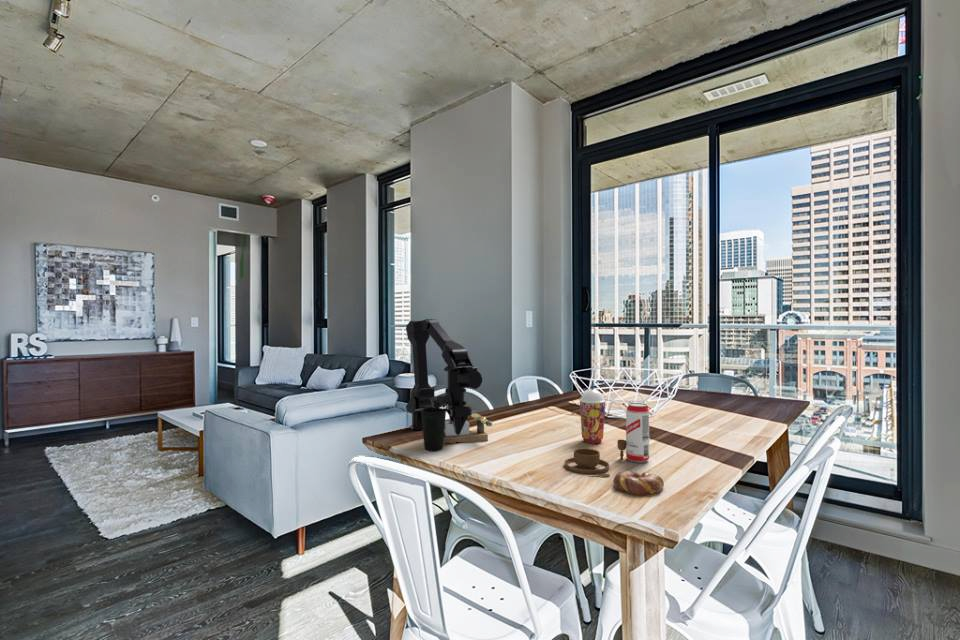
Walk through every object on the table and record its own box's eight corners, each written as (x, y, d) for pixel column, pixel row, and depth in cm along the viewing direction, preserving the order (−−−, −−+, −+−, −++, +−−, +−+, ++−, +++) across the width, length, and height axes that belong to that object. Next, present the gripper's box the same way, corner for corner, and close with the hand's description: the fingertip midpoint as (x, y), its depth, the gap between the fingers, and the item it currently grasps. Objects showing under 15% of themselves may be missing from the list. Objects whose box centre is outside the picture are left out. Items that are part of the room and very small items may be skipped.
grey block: (442, 433, 159) (442, 421, 159) (466, 432, 161) (466, 420, 161) (445, 436, 155) (445, 424, 155) (469, 435, 157) (469, 423, 157)
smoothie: (577, 438, 161) (577, 379, 161) (602, 438, 161) (602, 379, 161) (581, 444, 153) (582, 382, 153) (608, 445, 152) (608, 382, 152)
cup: (447, 445, 151) (447, 408, 151) (443, 452, 144) (443, 412, 143) (424, 445, 152) (424, 407, 152) (418, 451, 144) (418, 412, 144)
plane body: (433, 439, 160) (433, 420, 160) (481, 435, 164) (482, 418, 164) (437, 444, 153) (437, 425, 153) (487, 440, 157) (487, 422, 157)
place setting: (557, 460, 138) (557, 440, 138) (623, 458, 140) (623, 438, 140) (574, 480, 121) (574, 457, 121) (650, 478, 122) (650, 455, 122)
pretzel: (654, 481, 120) (654, 466, 120) (672, 497, 109) (673, 481, 109) (606, 480, 119) (606, 466, 119) (620, 497, 109) (621, 481, 109)
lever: (478, 415, 168) (478, 412, 168) (495, 425, 152) (495, 421, 152) (468, 416, 167) (468, 413, 167) (484, 426, 151) (484, 422, 151)
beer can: (639, 464, 132) (639, 407, 132) (621, 459, 137) (621, 403, 137) (653, 461, 135) (653, 404, 135) (635, 455, 140) (635, 401, 140)
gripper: (427, 382, 165) (427, 427, 165) (437, 390, 147) (437, 441, 147) (458, 381, 168) (458, 425, 168) (472, 389, 150) (472, 438, 150)
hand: (455, 432), depth 158 cm, fingers open, 6 cm apart
